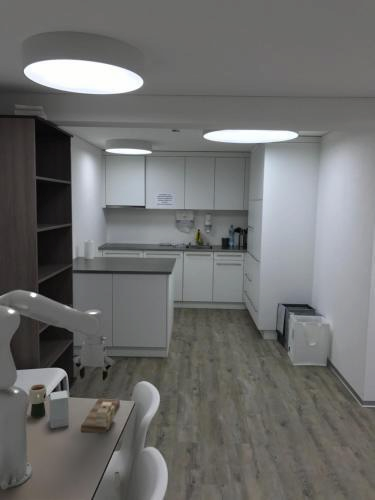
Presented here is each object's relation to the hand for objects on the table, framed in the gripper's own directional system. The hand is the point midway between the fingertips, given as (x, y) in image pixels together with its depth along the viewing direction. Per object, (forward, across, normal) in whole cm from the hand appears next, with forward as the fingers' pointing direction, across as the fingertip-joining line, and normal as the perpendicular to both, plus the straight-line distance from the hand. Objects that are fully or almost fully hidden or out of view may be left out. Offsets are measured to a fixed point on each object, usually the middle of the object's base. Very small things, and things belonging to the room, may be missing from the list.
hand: (93, 378), depth 167 cm
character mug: (+20, +27, -3) cm, 34 cm away
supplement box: (+20, +15, +2) cm, 25 cm away
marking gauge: (+19, -6, +2) cm, 20 cm away
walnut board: (+20, -2, -5) cm, 21 cm away
